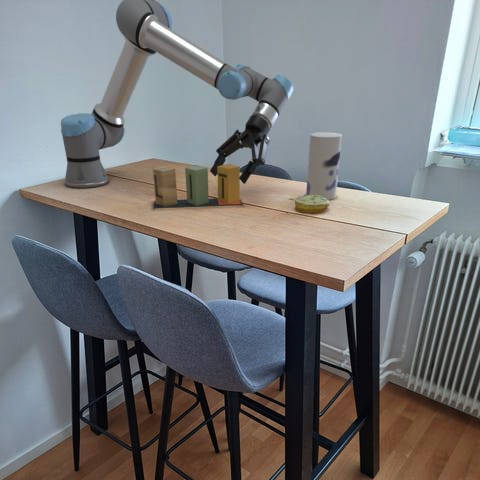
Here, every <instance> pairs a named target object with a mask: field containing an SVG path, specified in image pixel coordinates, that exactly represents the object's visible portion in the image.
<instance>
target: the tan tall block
mask: <svg viewBox="0 0 480 480" xmlns="http://www.w3.org/2000/svg"><path fill="white" fill-rule="evenodd" d="M152 176H153V189H154V198H155V199H154V201H155V200H156V204H158V205H161V206H164V207H167V206H171V205H175V204H178V202H177V200H178V189H177V173H176V168H175V167H174V168H173V167H171V166H167V165H166V166H165V165H164V166H159V167H154V168H152Z"/></svg>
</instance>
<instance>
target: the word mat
mask: <svg viewBox="0 0 480 480" xmlns="http://www.w3.org/2000/svg"><path fill="white" fill-rule="evenodd" d="M153 201H154V202H153V209H154V210H155V209H157V210H158V209H179V208H180V209H181V208H184V209H185V208H209V207H237V206H243V203H242V201H241V200H240V201H238V202H235V203H231V204H226V203H223V202H220V201H218V197H217V198H213V197H212V198H209V203H206V204H202V205H198V206H196V205H193V204H190V203H187V198H185V199H177V202H178V204H175V205H171V206H167V207H164V206H161V205H158V204H156V200H155V199H154V200H153Z"/></svg>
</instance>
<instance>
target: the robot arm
mask: <svg viewBox="0 0 480 480" xmlns="http://www.w3.org/2000/svg"><path fill="white" fill-rule="evenodd" d="M115 22H116V26H117V28H118V31H119V32H120V34H122V36H123V37H124V40H125V42H124V44H123V47H122V49H121V52H120V55H119V57H118V59H117V62H116V65H115V67H114V69H113V71H112V74H111V76H110V80H109V82H108V83H107V87H106V90H105V92H104V93H103V96H102V99H101V102H100V103H96V104H95V105H94V107H93V109H92V112H91V113H87V112H82V113H81V112H79V113H75V114H74V113H73V114H69V115H66V116H64V117H62V118H61V120H60V131H61V132H60V133H61V136H62V142H63V146H64V152H65V158H66V163H67V165H66V169H65V177H64V180H65V181H64V182H65V185H66V187H69V188H72V189H73V188H74V189H75V188H76V189H90V188H96V187H101V186H105V185H107V184H108V183H109V176H108V174H107V172H106V170H105V168H104V165H103V164H102V161H101V157H100V156H101V155H100V150H103V149H108V148H113V147H115V146H116V145H119V144H120V143H121V141H122V140H123V139H124V137H125V133H126V131H125V127H124V126H125V121H126V119H125V117H124V114H125V112H126V109H127V107H128V105H129V102H130V100H131V98H132V96H133V94H134V92H135V90H136V88H137V87H136V86H137V84H138V82H139V80H140V78H141V75H142V73H143V72H144V69H145V67H146V64H147V62H148V60H149V58H150V56H153V55H156V54H157V53H158V54H159V55H160V56H162V57H163V58H166V59H167V60H169V61H170V62H172V63H174V64H175V65H177V66H179V67H180V68H182V69H183V70H185V71H187V72H188V73H190V74H191V75H193V76H195V77H197V78H198V79H200V80H202V81H203V82H205V83H206V84H208V85H210V86H211V87H213V88H214V89H216V90H218V92H219V94H220V96H222V97H223V98H224V99H226V100H232V101H236V100H238V99H242V98H246V97H249V98H251V99H253V100H255V101H256V102H258V104H257V105H256V106H255V108H254V110H253V112H252V113H251V115H249V118H248V119H247V121H246V123H245V126H244V127H245V129H244V130H243V131H242V132H241V131H240V130H239V129H236V130H235V131H234V132H233V134H232V135H231V136H230V137H228V138H227V140H225V141H224V142H223V143H222V144H221V145H220V146H219V147H218V148H216V150H215V152H216V153H217V157H216V159H215V160H214V163H213V164H212V166H211V168H210V170H209V172H210V173H211V174H212V176H214V177H217V176H218V173H217V166H221V165H225V163H226V161H227V159H226V158H228V157H230V156H231V155H232V154H234V153H235V152H237V151H238V150H240V149H241V150H242V149H243V148H246V149H250V150H251V160H249V161H248V163H247V164H246V166H245V167H244V169H243V171H242V173H240V177H239V179H240V182H241V183H242V184H244V185H245V184H247V182H248V180H249V179H250V177H251V175H253V174H254V172H255V171H256V169H257V167H259V166H265V164H266V158H267V152H268V146H269V144H270V142H271V139H270V138H269V136H268V134H269V132H270V131H271V129H272V128H273V126H274V125H275V123H276V121H277V119H278V117H279V116H280V114H281V113H282V111H283V109H284V108H285V107H286V105H287V103H288V102H289V100H290V98H291V96H292V94H293V92H294V85H293V83H292V82H291V80H290V79H289V78H288V77H286V76H285V75H280V74H277V75H275V76H274V77H273V78H270V77H267V76H266V75H263V74H262V73H260V72H258V71H256V70H255V69H253V68H251V66H248V65H247V66H246V65H244V64H243V63H238V64H237V65H235V67H234V66H232V65H230V64H228V63H227V62H225V61H224V60H222V59H221V58H219V57H218V56H215V55H214V54H212V53H211V52H209V51H208V50H206V49H204V48H202V47H201V46H199V45H198V44H196V43H195V42H192V41H191V40H190V39H188V38H186V37H184V36H182V35H181V34H179V33H178V32H176V31H175V30H173V21H172V17H171V14H170V12H169V10H168V7H166V6H165V5H164V4H163V3H161V2H160V1H157V0H122V1H120V3H119V4H118V6H117V9H116V13H115Z"/></svg>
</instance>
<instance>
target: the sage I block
mask: <svg viewBox="0 0 480 480" xmlns="http://www.w3.org/2000/svg"><path fill="white" fill-rule="evenodd" d="M184 170H185V171H184V173H185V188H186V189H185V190H186V199H187V203H190V204H193V205H196V206H198V205H202V204H206V203H209V199H210V197H209V168H208V167H206V166H202V165H192V166H187V167H185V168H184Z"/></svg>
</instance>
